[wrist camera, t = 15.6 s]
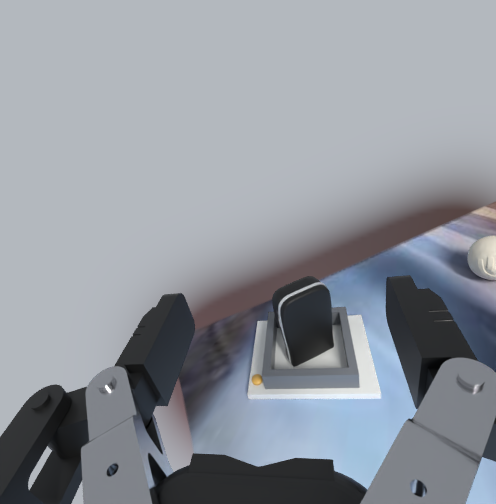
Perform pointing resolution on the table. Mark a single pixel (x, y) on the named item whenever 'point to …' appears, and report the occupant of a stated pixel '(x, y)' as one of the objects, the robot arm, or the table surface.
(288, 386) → the charging dock
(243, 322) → the table surface
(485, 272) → the off-white ball
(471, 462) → the robot arm
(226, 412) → the table surface
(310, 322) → the battery charger
